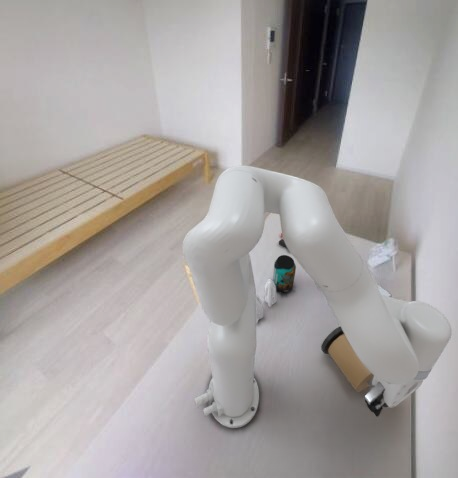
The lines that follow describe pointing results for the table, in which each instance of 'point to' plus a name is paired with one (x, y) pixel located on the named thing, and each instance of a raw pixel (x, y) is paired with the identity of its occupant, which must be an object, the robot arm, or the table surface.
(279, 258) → the beverage can
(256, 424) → the table surface
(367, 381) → the towel holder
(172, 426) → the table surface
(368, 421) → the table surface
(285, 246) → the toy gun
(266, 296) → the shaker set
